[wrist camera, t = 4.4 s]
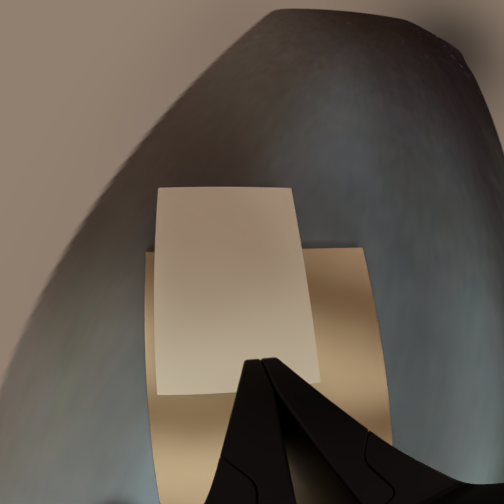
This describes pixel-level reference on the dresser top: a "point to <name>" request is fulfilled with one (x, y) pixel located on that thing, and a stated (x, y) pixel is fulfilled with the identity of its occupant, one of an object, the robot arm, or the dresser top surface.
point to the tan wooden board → (331, 386)
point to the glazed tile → (228, 287)
